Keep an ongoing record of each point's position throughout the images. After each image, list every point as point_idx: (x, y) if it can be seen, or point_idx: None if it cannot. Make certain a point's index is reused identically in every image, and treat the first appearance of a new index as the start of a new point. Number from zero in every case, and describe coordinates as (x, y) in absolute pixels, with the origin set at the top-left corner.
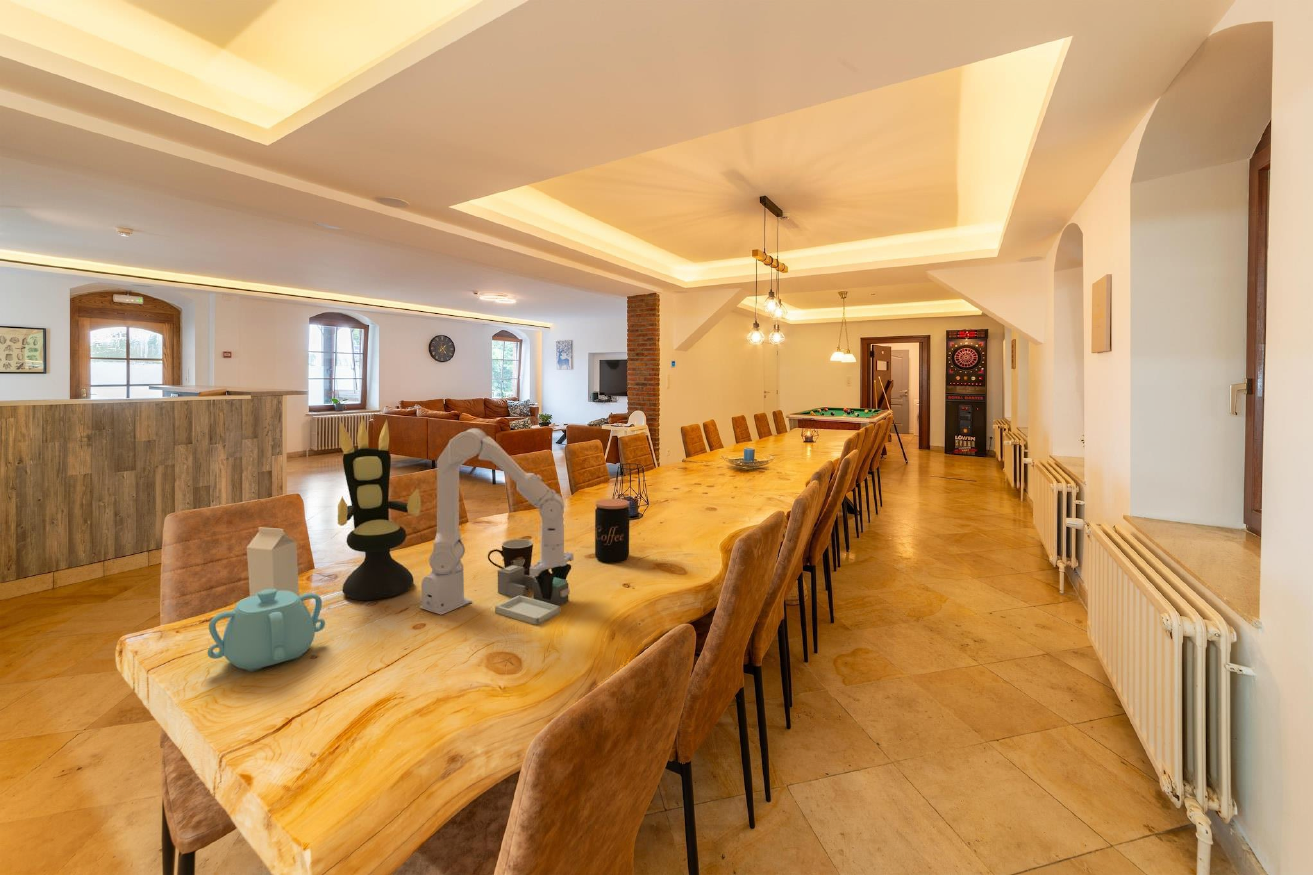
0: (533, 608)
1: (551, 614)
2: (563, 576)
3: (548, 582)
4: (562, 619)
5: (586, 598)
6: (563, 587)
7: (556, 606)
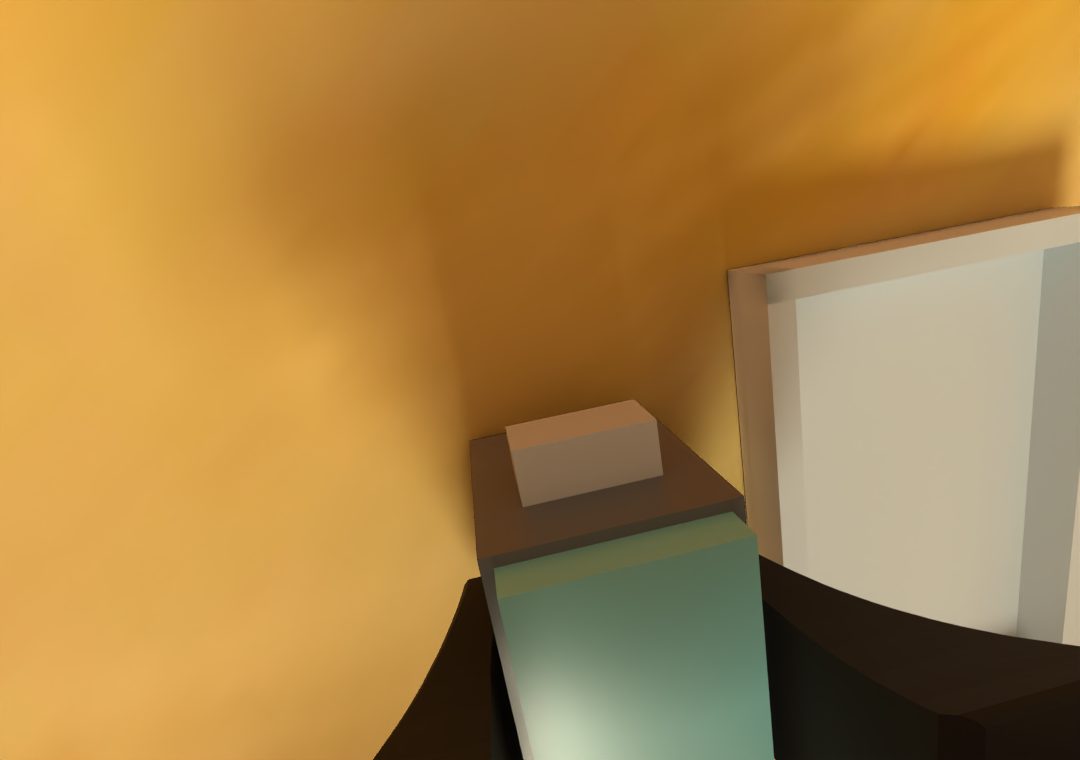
0: (837, 513)
1: (882, 245)
2: (495, 734)
3: (946, 625)
4: (830, 117)
5: (251, 362)
6: (601, 508)
7: (795, 303)
